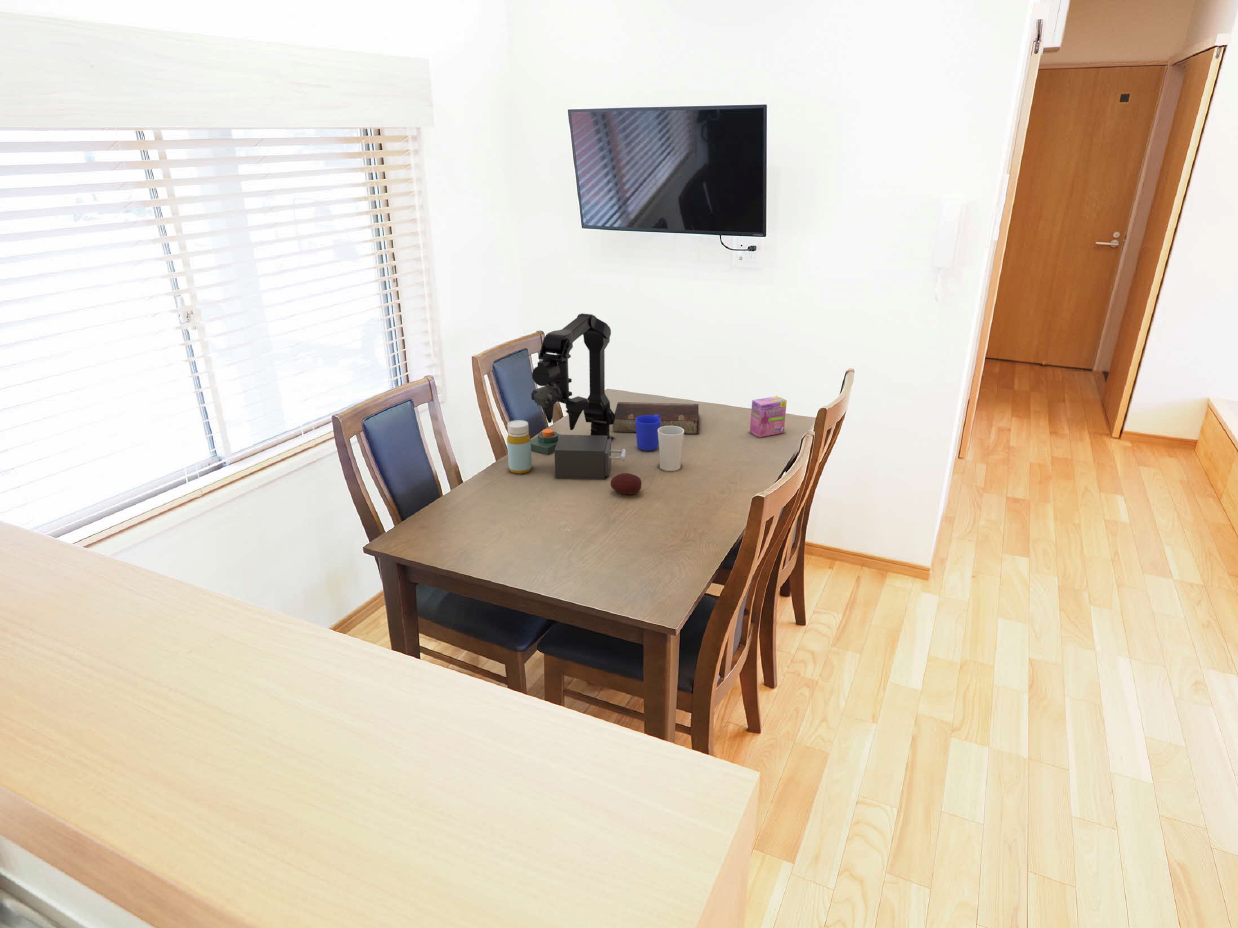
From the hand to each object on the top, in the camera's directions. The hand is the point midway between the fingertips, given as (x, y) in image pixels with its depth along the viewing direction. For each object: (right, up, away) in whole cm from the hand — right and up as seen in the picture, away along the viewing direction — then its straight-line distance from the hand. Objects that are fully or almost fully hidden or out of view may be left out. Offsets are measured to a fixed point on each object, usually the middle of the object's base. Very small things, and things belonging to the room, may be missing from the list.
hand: (560, 426), depth 235 cm
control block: (-6, -5, +22) cm, 24 cm away
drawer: (+10, -13, +3) cm, 17 cm away
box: (+68, -1, +32) cm, 75 cm away
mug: (+28, -6, +22) cm, 36 cm away
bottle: (-13, -13, +5) cm, 19 cm away
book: (+31, +3, +41) cm, 51 cm away
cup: (+33, -12, +6) cm, 36 cm away
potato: (+19, -20, -11) cm, 30 cm away
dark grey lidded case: (+6, -13, +4) cm, 15 cm away
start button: (-6, -2, +21) cm, 22 cm away
